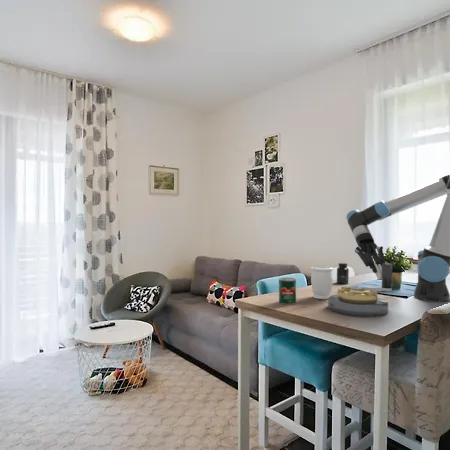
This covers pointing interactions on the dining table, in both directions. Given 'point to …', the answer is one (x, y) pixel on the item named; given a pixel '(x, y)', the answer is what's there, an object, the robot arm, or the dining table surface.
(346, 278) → the supplement bottle
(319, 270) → the jar
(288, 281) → the canned tomato
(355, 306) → the grey serving platter
